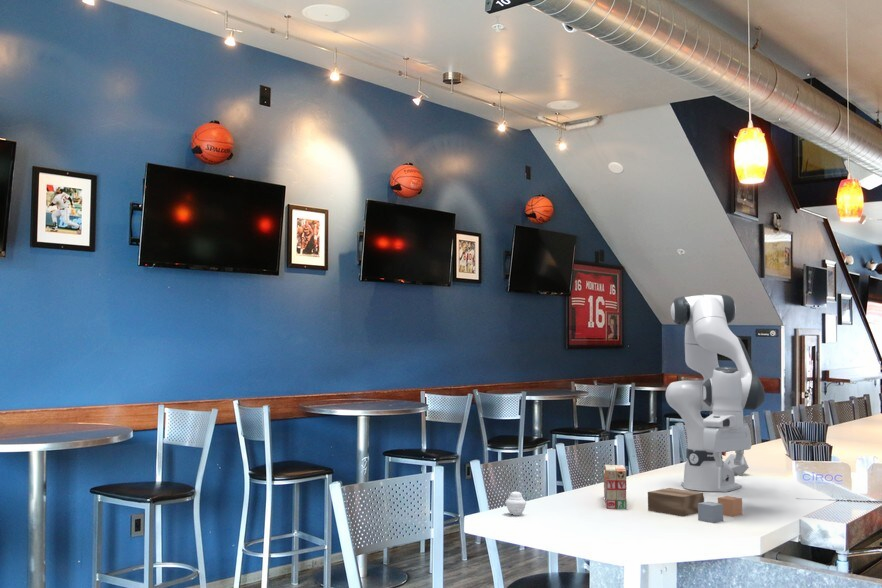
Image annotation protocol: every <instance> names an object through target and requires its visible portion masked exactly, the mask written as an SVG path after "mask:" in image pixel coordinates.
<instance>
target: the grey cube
mask: <svg viewBox="0 0 882 588" xmlns="http://www.w3.org/2000/svg"><path fill="white" fill-rule="evenodd" d="M697 520H698V521H699V522H705V523H711V524H716V523H721V522H724V515H723V504H720V503H718V502H713V501H704V502H702V503H698V513H697Z"/></svg>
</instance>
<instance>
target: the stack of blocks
mask: <svg viewBox="0 0 882 588" xmlns="http://www.w3.org/2000/svg"><path fill="white" fill-rule="evenodd" d="M602 471H603V472H602V473H603V474H602V477H603V498H605V499H604V502H605V507H606V508H607V509H606V508H605V509H606V510H627V505H628V504H627V469H626V467H625V466H624V465H623V464H604V469H603V470H602Z"/></svg>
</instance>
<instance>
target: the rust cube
mask: <svg viewBox="0 0 882 588" xmlns="http://www.w3.org/2000/svg"><path fill="white" fill-rule="evenodd" d="M717 503H720V504H723V516H725V517H732V518H734V517H738V516H739V517H740V516H743V498H742V497H736V496H729V495H726V496H719V497H717Z"/></svg>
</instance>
